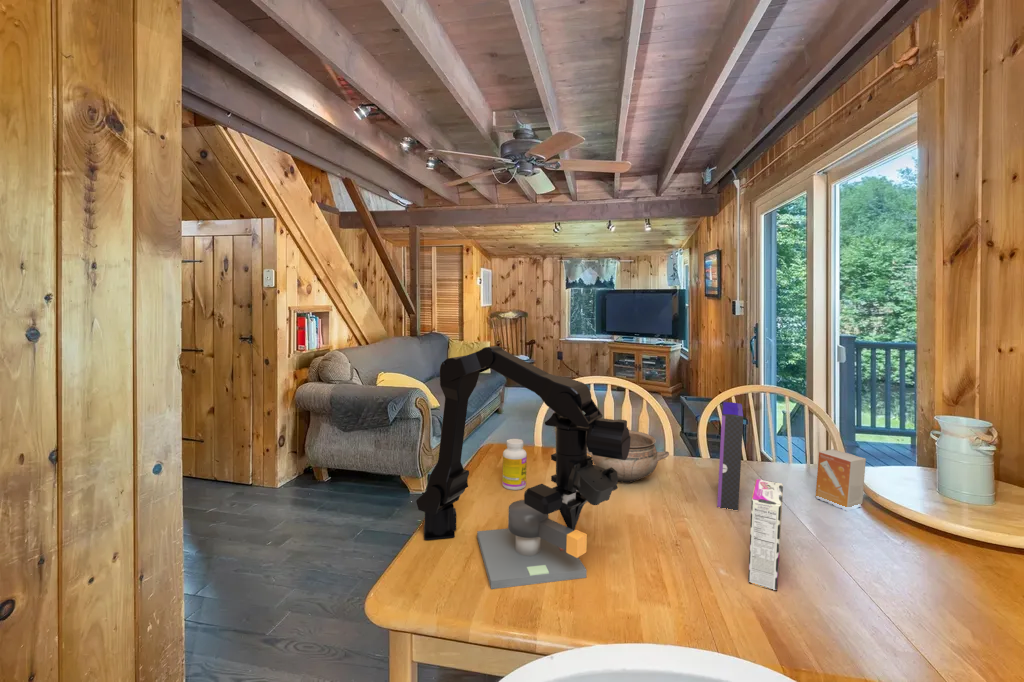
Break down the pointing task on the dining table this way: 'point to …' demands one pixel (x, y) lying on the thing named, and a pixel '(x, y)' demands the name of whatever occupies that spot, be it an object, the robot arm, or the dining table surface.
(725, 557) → the dining table surface
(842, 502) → the small box
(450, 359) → the robot arm
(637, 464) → the cooking pot
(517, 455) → the supplement bottle
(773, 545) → the candy bar box
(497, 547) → the base
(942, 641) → the dining table surface
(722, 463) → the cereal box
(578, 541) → the lock lever handle
